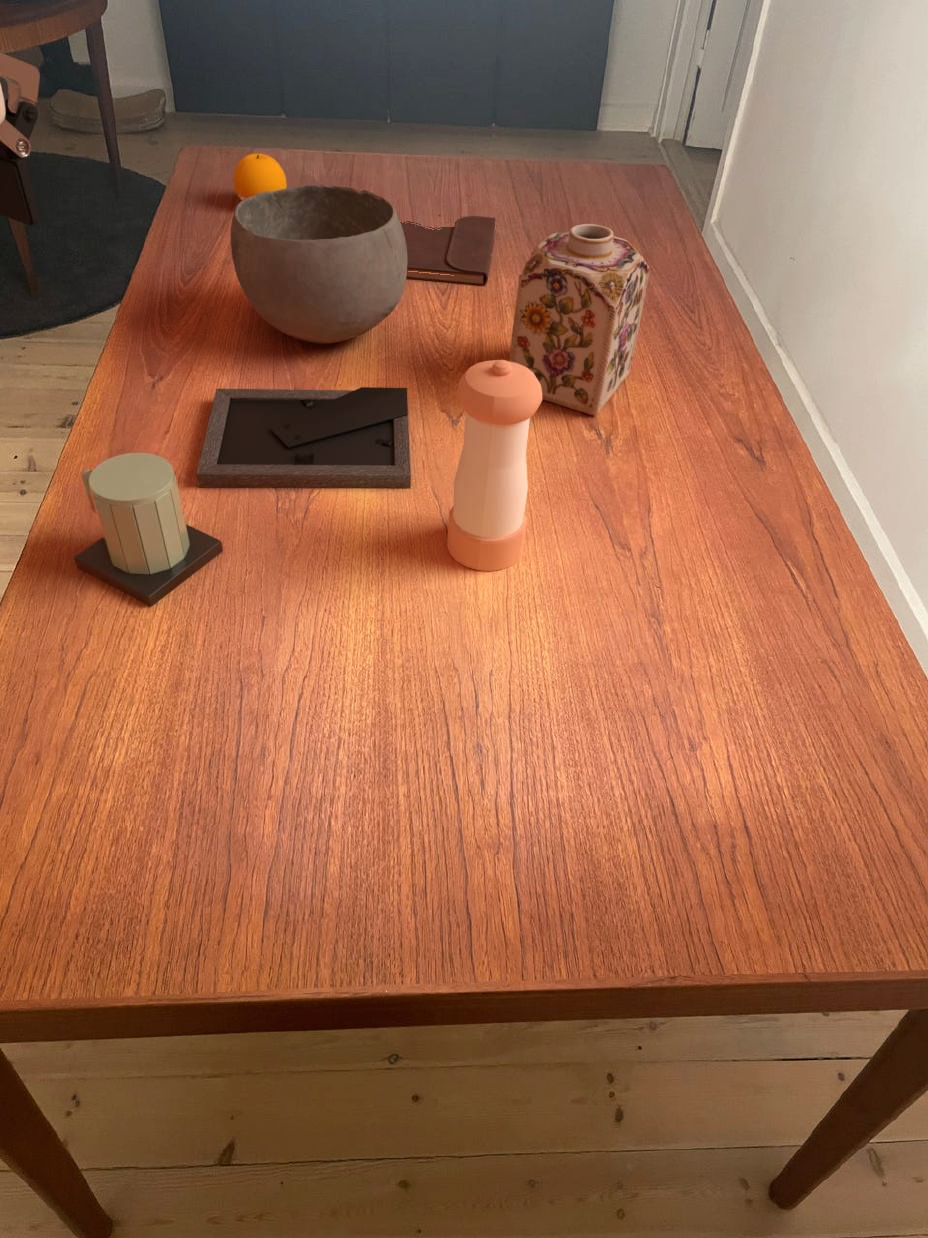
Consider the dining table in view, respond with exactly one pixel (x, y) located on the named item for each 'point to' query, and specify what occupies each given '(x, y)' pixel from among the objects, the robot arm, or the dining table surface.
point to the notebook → (451, 251)
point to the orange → (258, 175)
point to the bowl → (319, 260)
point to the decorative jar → (579, 315)
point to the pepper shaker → (492, 465)
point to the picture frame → (307, 439)
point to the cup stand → (149, 585)
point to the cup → (138, 512)
